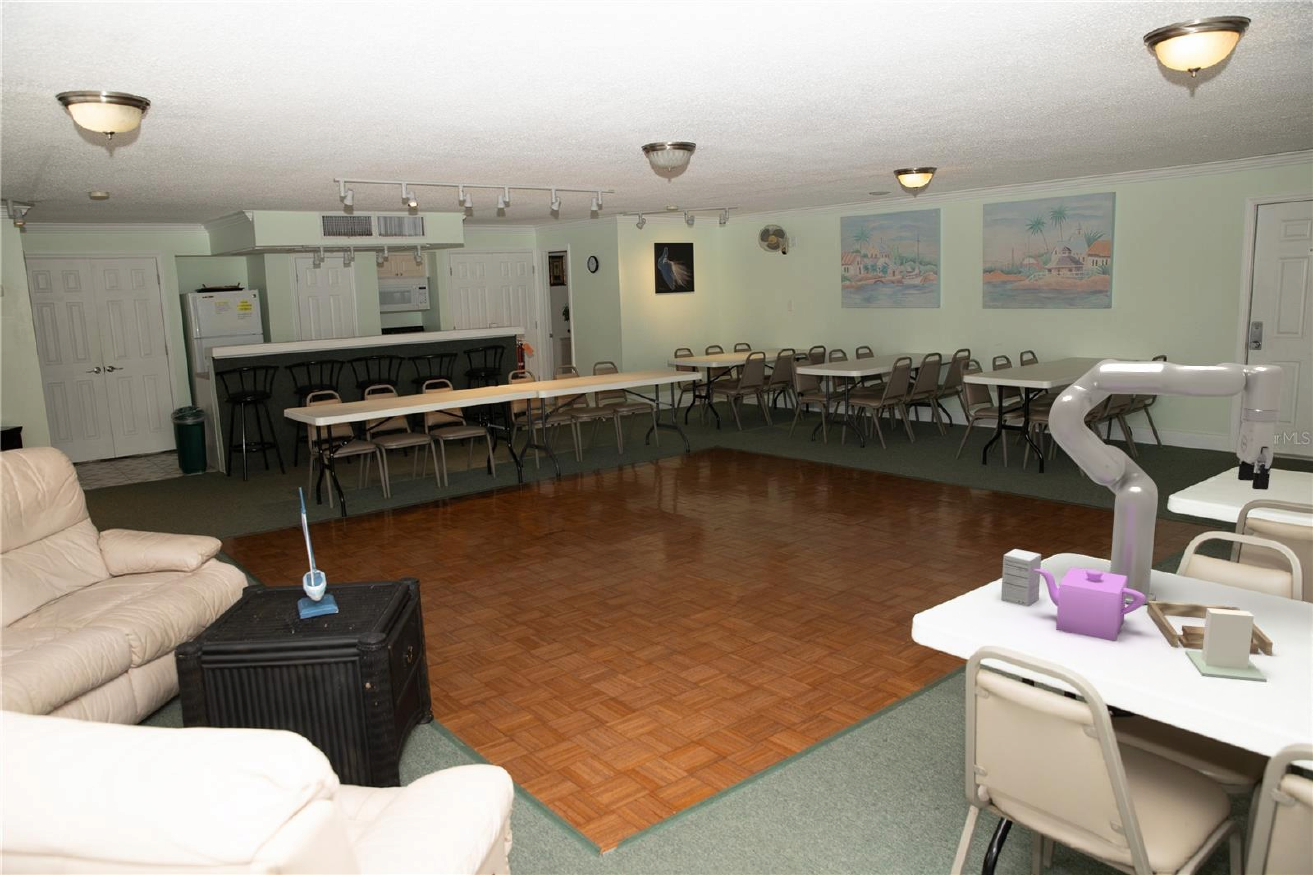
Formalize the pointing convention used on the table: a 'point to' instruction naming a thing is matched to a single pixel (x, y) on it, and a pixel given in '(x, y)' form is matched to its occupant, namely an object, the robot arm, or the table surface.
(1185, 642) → the offcut stack
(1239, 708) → the table surface
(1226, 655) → the cream rectangular block
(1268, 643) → the frame
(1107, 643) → the table surface
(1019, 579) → the supplement box
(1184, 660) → the table surface
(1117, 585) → the teapot
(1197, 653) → the mat
